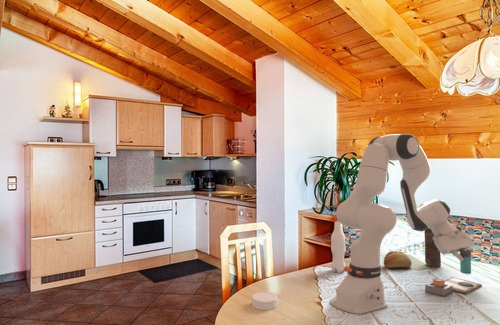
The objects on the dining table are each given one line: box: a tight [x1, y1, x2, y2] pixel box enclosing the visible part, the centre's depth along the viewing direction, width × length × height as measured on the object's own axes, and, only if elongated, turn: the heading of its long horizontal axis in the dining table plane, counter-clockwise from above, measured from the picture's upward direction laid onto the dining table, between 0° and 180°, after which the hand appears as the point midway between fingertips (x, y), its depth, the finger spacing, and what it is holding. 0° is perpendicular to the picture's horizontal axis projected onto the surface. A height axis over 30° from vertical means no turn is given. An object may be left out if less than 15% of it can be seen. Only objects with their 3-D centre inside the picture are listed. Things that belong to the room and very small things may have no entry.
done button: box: [432, 278, 445, 288], centre depth 146 cm, size 4×4×3 cm
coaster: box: [251, 291, 278, 311], centre depth 135 cm, size 10×10×4 cm
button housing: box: [424, 280, 454, 298], centre depth 146 cm, size 8×8×3 cm
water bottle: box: [330, 220, 347, 274], centre depth 175 cm, size 7×7×25 cm
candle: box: [423, 227, 442, 268], centre depth 183 cm, size 8×7×20 cm
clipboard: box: [444, 276, 483, 295], centre depth 153 cm, size 16×12×1 cm
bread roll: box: [383, 250, 413, 269], centre depth 181 cm, size 10×15×8 cm, turn 101°
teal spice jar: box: [459, 249, 472, 275], centre depth 152 cm, size 4×4×10 cm
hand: (467, 259), depth 152 cm, fingers closed on teal spice jar, 4 cm apart
